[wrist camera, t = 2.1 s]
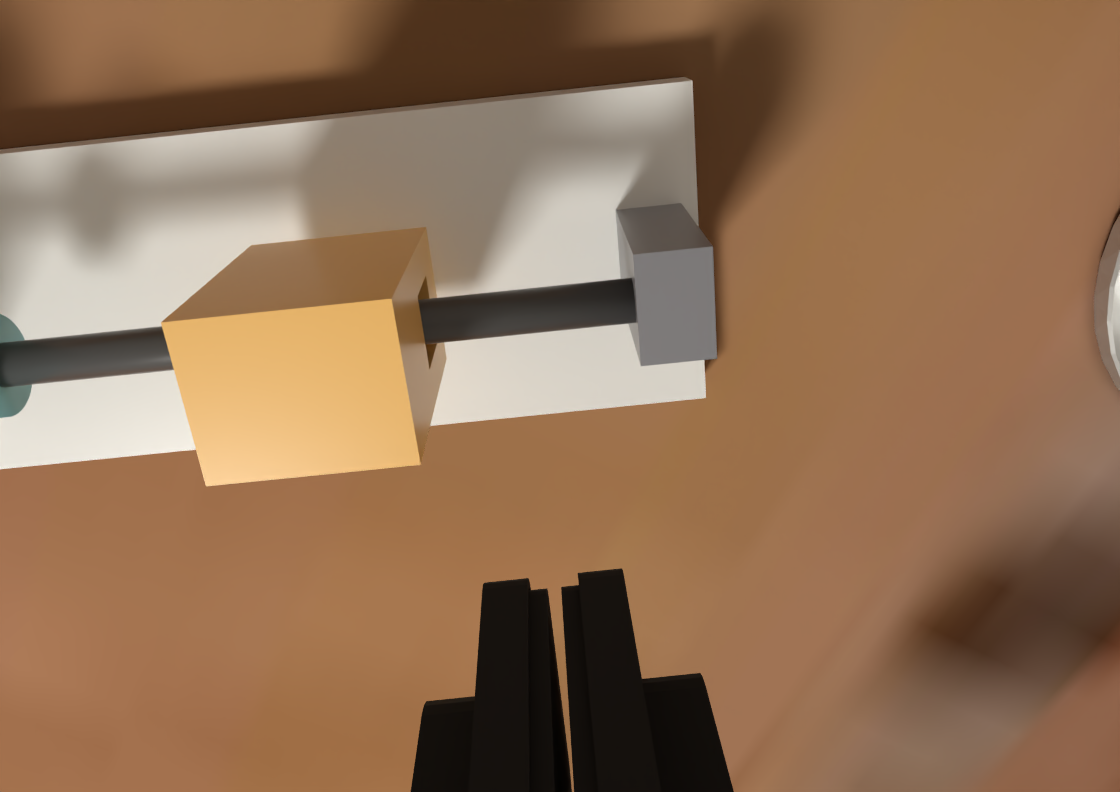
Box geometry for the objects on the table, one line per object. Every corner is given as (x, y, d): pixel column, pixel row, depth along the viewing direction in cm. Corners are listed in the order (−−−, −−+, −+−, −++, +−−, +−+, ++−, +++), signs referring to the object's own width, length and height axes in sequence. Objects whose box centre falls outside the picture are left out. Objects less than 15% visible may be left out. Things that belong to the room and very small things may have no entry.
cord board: (684, 76, 29) (746, 107, 20) (698, 380, 32) (755, 511, 24) (-190, 169, 29) (-480, 236, 21) (-74, 459, 33) (-279, 613, 25)
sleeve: (425, 226, 27) (391, 298, 20) (446, 358, 28) (420, 464, 22) (251, 245, 27) (160, 322, 20) (281, 375, 28) (205, 486, 22)
